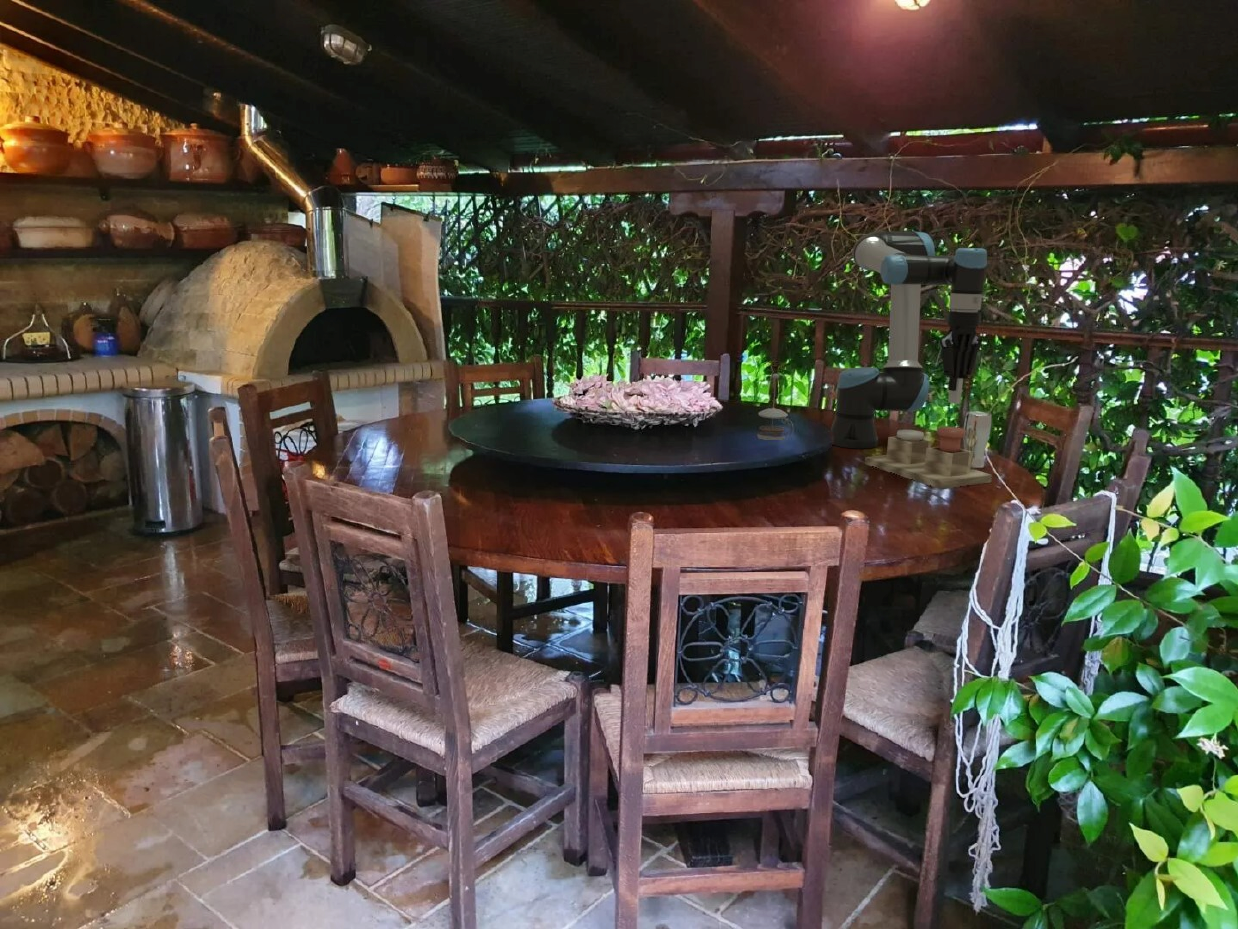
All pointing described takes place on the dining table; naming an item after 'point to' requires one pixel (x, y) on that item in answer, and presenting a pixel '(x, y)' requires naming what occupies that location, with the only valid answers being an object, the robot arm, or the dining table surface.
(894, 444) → the stand
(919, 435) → the grey cylinder
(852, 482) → the dining table surface
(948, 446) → the brown rounded piece
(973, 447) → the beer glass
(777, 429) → the french press
